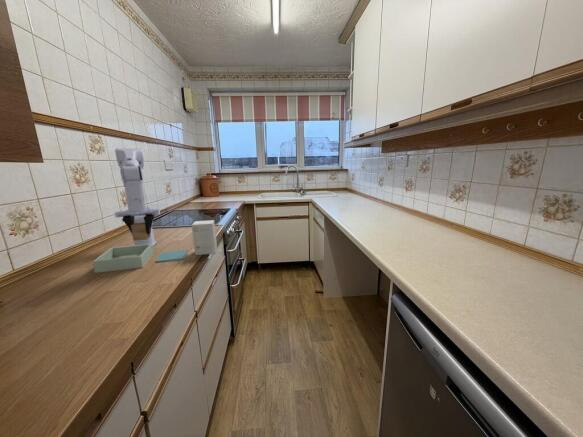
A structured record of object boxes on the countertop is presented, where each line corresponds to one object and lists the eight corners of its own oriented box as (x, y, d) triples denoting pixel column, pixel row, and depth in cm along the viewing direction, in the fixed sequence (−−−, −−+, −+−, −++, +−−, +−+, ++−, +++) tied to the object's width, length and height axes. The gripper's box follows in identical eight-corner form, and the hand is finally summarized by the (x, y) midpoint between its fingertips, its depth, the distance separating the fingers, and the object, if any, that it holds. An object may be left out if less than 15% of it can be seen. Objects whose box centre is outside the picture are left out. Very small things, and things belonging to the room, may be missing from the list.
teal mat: (162, 253, 102) (161, 252, 102) (187, 250, 104) (187, 249, 104) (155, 262, 92) (155, 261, 92) (183, 259, 95) (183, 258, 95)
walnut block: (137, 237, 95) (135, 222, 94) (150, 236, 96) (148, 221, 95) (133, 240, 91) (130, 225, 89) (146, 239, 92) (144, 224, 90)
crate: (113, 258, 99) (111, 247, 98) (154, 253, 102) (152, 243, 101) (94, 273, 85) (92, 261, 84) (142, 268, 88) (140, 256, 87)
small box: (217, 248, 106) (214, 219, 103) (215, 253, 100) (212, 223, 97) (198, 250, 105) (194, 220, 102) (194, 255, 99) (191, 224, 96)
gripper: (108, 201, 84) (115, 238, 88) (154, 199, 88) (159, 235, 91) (117, 199, 91) (123, 233, 94) (159, 197, 95) (164, 230, 98)
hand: (141, 234), depth 93 cm, fingers closed on walnut block, 4 cm apart
